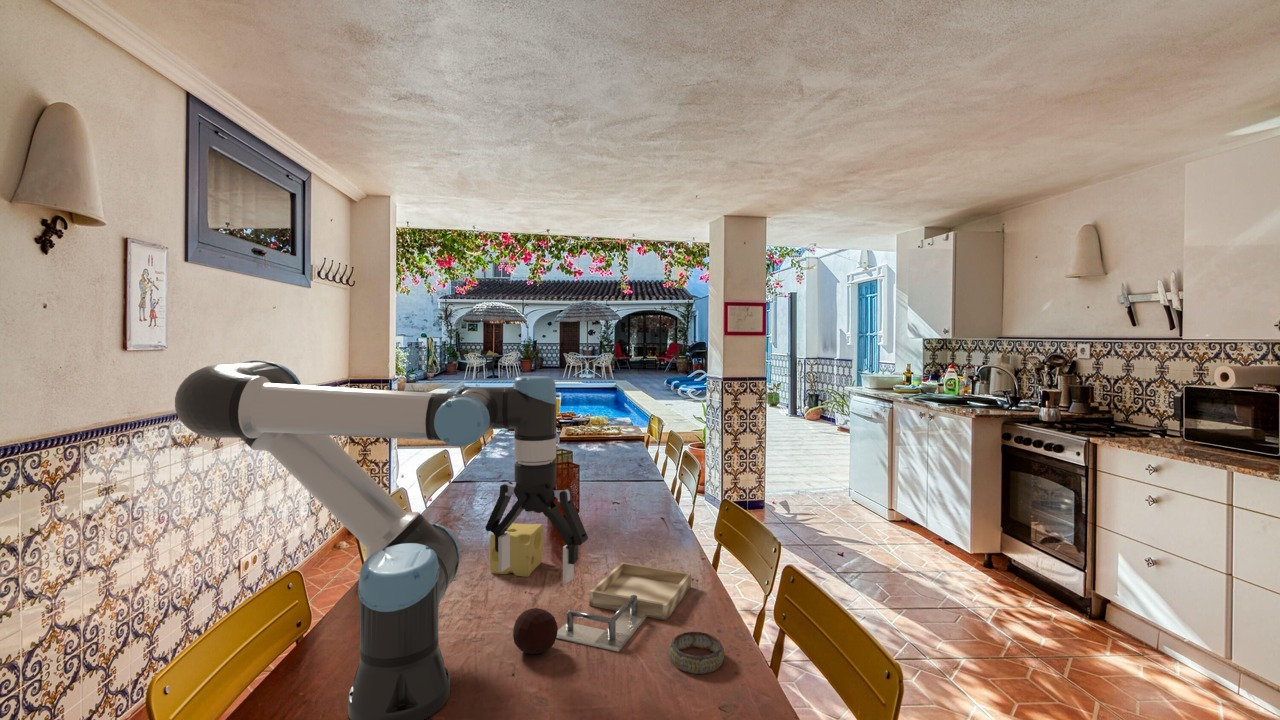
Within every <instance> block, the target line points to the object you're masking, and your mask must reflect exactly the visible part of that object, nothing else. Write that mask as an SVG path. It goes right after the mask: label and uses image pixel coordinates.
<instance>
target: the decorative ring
mask: <svg viewBox="0 0 1280 720" xmlns="http://www.w3.org/2000/svg"><path fill="white" fill-rule="evenodd" d="M686 649H687V650H688V649H702V650H707V651H709V652H711V653H710V654H706V655H705V654H704V655H694V654H692V655H691V654H688V653H685V652H682V651H683V650H686ZM668 655H669V658H670V661H671V663H672V664H673V666H675V667H676V669H679V670H680V671H681V672H682V671H683V672H685V673H688V674H693V675H704V674H705V675H706V674H711V673H713V672H716V671H717V670H718V669H720V668H721V666H722V664H723V663H724V659H725V655H726V653H725V649H724V647H723V645H722V642H721V640H719V639H718V638H717V637H716V636H714V635H711V634H709V633H706V632H702V631H688V632H683V633H680V634H677V635H676V636H675V637H674V638H672V640H671V642H670V645H669V647H668Z"/></svg>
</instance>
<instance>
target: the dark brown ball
mask: <svg viewBox="0 0 1280 720" xmlns="http://www.w3.org/2000/svg"><path fill="white" fill-rule="evenodd" d="M558 630H559V627H558V624H557V621H556V618H555V616H554V615H553V614H552V613H551V612H549V611H548V610H546V609H544V608H543V609H542V608H537V607H534V608H529V609H526V610H524V611H523V612H522V613H520V615H518V616H517V618H516V619H515V623H514V625H513V630H512V638H513V642H514V644H515V646H516V647H517V648H518V649H519V650H520V652H523V653H526V654H530V655H539V654H543V653H545V652H547V651H548V650H550V649H551V648H552V647H553V646H554V644H555V642H556V640H557V638H556V637H557V631H558Z"/></svg>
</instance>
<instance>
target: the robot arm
mask: <svg viewBox="0 0 1280 720" xmlns="http://www.w3.org/2000/svg"><path fill="white" fill-rule="evenodd" d="M556 390H557V388H556V381H555V380H554V379H553V378H552V377H551V376H547V375H546V376H545V375H544V376H543V375H529V376H528V375H522V376H521V375H520V376H517V377H516V378H515V379H514V381H513V386H509V387H471V386H465V387H455V388H454V387H452V388H449V389H448V390H447V391H446V393H443V392H442V393H441V392H440V393H436V392H422V391H405V390H403V391H402V390H390V389H389V390H388V389H371V388H356V387H354V388H353V387H340V386H339V387H336V386H324V385H323V386H320V385H319V386H318V385H303V384H302V383H301V381H300V379H299V378H298V376H297V375H296V374H295V373H294V372H293V371H292V370H291V369H289V368H288V367H287V366H284V365H283V364H280V363H277V362H273V361H265V360H249V361H244V362H239V363H221V364H212V365H208V366H205V367H202V368H199V369H196V370H195V371H193V372H192V373H190V374H189V375H188V376H187V377H185V378H184V380H183V381H182V382H181V383H180V385H179V387H178V388H177V391H176V392H175V397H174V408H175V413H176V416H177V417H178V419H179V421H180V422H181V423H182V424H183V425H184V427H186V428H187V429H188V430H190V431H191V432H193V433H195V434H196V435H199V436H203V437H207V438H214V439H218V438H219V439H220V438H221V439H222V438H223V439H225V438H227V439H228V438H231V439H232V438H233V439H235V438H236V439H241V440H242V441H243V442H244V443H245V445H247V446H248V447H249V448H250V449H251V450H253V451H264V452H269V454H271V455H272V457H273V458H274V459H276V460H277V461H278V462H279V463H280V464H281V465H282V466H283V467H284V468H285V470H287V471H288V472H289V473H290V474H291V475H292V476H293V477H294V478H295V479H296V480H297V481H298V482H299V483H300V484H301V485H302V486H304V488H305V489H306V490H307V491H308V492H309V493H310V494H311V495H312V496H313V497H315V498H316V500H317V501H318V502H319V503H320V504H321V505H323V506H324V508H325V509H326V510H328V511H329V513H331V514H332V515H333V516H334V518H336V519H337V520H338V521H339V522H340V523H341V524H342V525H343V526H344V527H345V528H346V529H347V530H348V531H349V532H350V533H351V534H352V535H353V536H354V537H355V538H356V539H357V540H358V541H359V542H360V543H361V544H362V545H363V546H364V547H365V548H366V560H365V561H364V562H363V564H362V566H361V567H360V570H359V577H358V578H359V579H358V584H357V595H358V615H359V616H358V617H359V619H358V620H359V622H358V623H359V629H358V630H359V631H358V632H359V663H358V665H357V669H356V671H355V674H354V677H353V682H352V685H351V688H350V690H349V693H348V698H347V714H348V718H349V720H424V719H425V720H426V719H427V720H428V717H429V718H430V717H432V716H433V715H435V714H436V713H437V712H439V711H440V710H441V709H442V708H443V707H444V706H445V705H446V703H447V702H448V700H449V698H450V695H451V675H450V673H449V670H448V669H447V667H446V665H445V661H444V658H443V655H442V652H441V649H440V645H439V631H440V630H439V609H440V608H439V607H440V603H441V601H442V599H443V597H444V596H445V594H446V593H447V590H448V588H449V586H450V584H452V582H453V580H454V579H455V577H456V575H457V572H458V570H459V565H460V561H461V547H460V544H459V541H458V539H457V537H456V536H455V535H454V533H453V532H452V531H451V530H450V529H449V528H447V527H446V526H444V525H442V524H438V523H431V522H429V521H428V519H426V518H425V516H423V515H422V514H421V513H420V512H418V511H406V510H404V508H403V507H401V505H400V504H398V503H397V501H395V499H394V498H393V497H392V496H390V495H389V493H388V492H386V491H385V489H383V488H382V487H381V485H380V484H378V482H377V481H376V480H374V478H372V477H371V475H370V474H369V473H368V472H366V471H365V470H364V469H363V467H362V466H360V465H359V463H358V462H357V461H356V460H354V459H353V458H352V456H351V455H349V454H348V452H347V451H345V450H344V448H342V446H340V445H339V444H338V442H336V441H335V440H334V438H332V436H335V437H336V436H340V437H341V436H342V437H357V438H358V437H360V438H362V437H363V438H382V439H398V440H399V439H400V440H401V439H403V440H404V439H405V440H420V441H421V440H424V441H434V442H435V441H436V442H443V443H445V444H447V445H450V446H452V447H466V446H469V445H472V444H475V443H476V442H478V441H479V440H480V439H482V438H483V436H484V435H485V434H486V432H487V431H488V430H500V429H503V430H504V429H505V430H509V429H513V430H514V441H513V442H514V450H513V451H514V456H513V457H514V459H515V461H516V462H515V463H514V482H515V484H513V482H512V481H509V482H508V481H507V482H505V483H504V484H502V485H500V487H499V496H498V497H497V498H498V499H497V501H496V502H495V505H494V506H493V507H494V508H492V509H493V510H492V511H491V513H490V516H489V518H488V521H487V523H486V525H485V530H486V532H491V533H494V535H495V550H496V552H498V571H499V572H503V571H504V570H506V569H507V568H509V567H510V533H505V532H506V531H507V529H508V528H509V527H510V525H511V524H512V523H515V522H514V521H516V519H517V518H518V517H519V516H520V515H521V513H522V512H523V511H524V510H525V512H529V513H530V512H533V513H535V514H536V513H537V514H542V513H543V515H544V516H545V518H548V519H549V521H550V522H551V524H552V525H553V527H554V528H555V530H556V531H557V533H558V534H559V536H560V537H561V539H562V540H563V542H564V543H565V545H564V546H562V583H563V584H568V583H569V582H570V581H572V580H573V579H574V577H575V576H574V573H575V571H574V565H575V563H577V562H578V559H579V556H578V555H579V549H578V547H579V546H581V545H583V544H584V543H586V541H588V540H589V536H588V534H587V531H586V529H585V527H584V525H583V521H582V520H581V517H580V515H579V513H578V510H577V508H576V506H575V504H574V500H573V493H572V490H571V488H566V489H564V490H563V489H562V490H560V489H559V490H558V489H557V487H556V481H557V463H556V461H555V459H556V458H557V391H556ZM513 495H515V497H516V502H515V503H514V504H513V506H511V509H510V510H509V511H508V512H507V514H506V515H505V516H504V514H505V513H506V509H507V507H508V505H509V503H510V501H511V498H512V496H513ZM555 499H557V502H558V503H559V505H560V506H559V505H558V504H557V502H556V501H555ZM560 508H561V510H562V512H561V510H560ZM503 517H504V518H503ZM502 518H503V519H502Z"/></svg>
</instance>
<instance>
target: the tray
mask: <svg viewBox="0 0 1280 720" xmlns="http://www.w3.org/2000/svg"><path fill="white" fill-rule="evenodd" d="M691 587H692V573H691V572H690V573H689V572H684V571H683V572H682V571H677V570H671V569H665V568H659V567H653V566H648V565H643V564H641V565H640V564H636V563H635V564H634V563H629V562H623V561H621V562H620V563H618V565H617V566H616V567H614V569H612V570H611V571H610V572H609V573H608V574H607V575H605V577H603V579H601V580H600V581H599V582H598V583H597V584H596V585H595V586H594V587H592V589H590V590H589V594H588V595H589V596H588V597H589V601H588V602H589V606H590V607H594V608H599V609H606V610H610V611H616V612H617V611H618V610H619V609H620V608H621V607H622V606H623V605H624V604H625V603H626V602H627V601H628V599H629V598H630V596H631V595H636V596H637V611H638V612H643V613H647V617H646V618H651V619H654V620H655V619H656V620H660V621H668V619H669V618H670V616H671V615H672V614H673V612H674V611H675V610H676V609H677V607H678V606H679V604H680V603H681V601H682V600H683V599H684V597H685V596H686V595H687V593H688V592H689V590H690V589H691ZM627 609H628V610H630V606H629V607H628V608H627Z"/></svg>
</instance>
